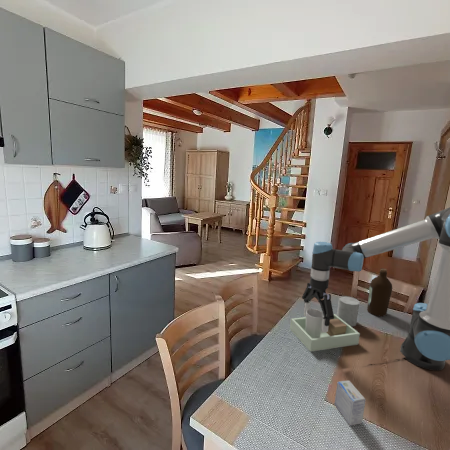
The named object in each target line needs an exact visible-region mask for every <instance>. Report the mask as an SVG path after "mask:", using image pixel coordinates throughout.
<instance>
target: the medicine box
mask: <svg viewBox="0 0 450 450" xmlns="http://www.w3.org/2000/svg"><path fill="white" fill-rule="evenodd" d="M336 383H337V384H336V390H335V397H334V403H333V404H334V406H335V407H336V408H337V410H338V411H339V413H340V414H341V415H342V418H344V420H345V421H346V422H347V424H348V425H349V426H355V425H360V424H363V421H364V420H363V418H364V415H365V405H366V401H367V400H366V398H365V397H364V395H362V394H361V393H360V391H359V390H358V389H357V388H356V387H355V386H354V384H353V383H352V382H351V380H341V381H337V382H336Z"/></svg>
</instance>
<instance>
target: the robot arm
mask: <svg viewBox="0 0 450 450" xmlns="http://www.w3.org/2000/svg"><path fill="white" fill-rule="evenodd" d="M431 239H436V240H437V239H438V245H439V246H440V247H441V248H442V250H441V253H440V255H439V256H440V257H439V260H438V264H437V268H436V271H435V275H434V279H433V282H432V286H431V290H430V294H429V297H428V301H427V303H423V302H417V303H415V304H414V305H413V308H412V316H411V321H410V326H409V330H408V334H407V337H406V338H405V339H404V340H403V342H402V344H401V346H400V351H399V352H400V353H401V354H402V355H403V356H404V359H405V360H406V361H408V362H410V363H411V364H413V365H414V366H416V367H417V366H418V367H419V368H422V369H425V370H430V371H441V370H443V369H444V368H445V365H446V361H450V207H448V208H445V209H442V210H440V211H437V212H435V213H433V214H429V215H426V217H425V218H424V219H423V220H419V221H416V222H414V223H411V224H408V225H404V226H402V227H399V228H395V229H391V230H390V231H387V232H383V233H381V234H378V235H374V236H372V237H368V238H365V239H362V240H359V241H356V242H350V243H347V244H345V246H343V247H342V249H335V248H333V245H332V243H330V242H328V241H316V242H314V244H313V247H312V255H311V256H312V257H311V259H312V260H311V267H310V279H309V282H307V284H306V287H305V290H304V292H303V294H302V296H301V299H302V300H303V302H304V304H303V305H304V306H303V307H304V309H303V317H306V310H308V309H311V306H312V302H311V301H312V300H313V299H314V298H315V299H316V300H317V302H318V303H319V304H320V308H321V311H322V312H323V315H324V317H323V320H322V330H321V332H322V333H323V332H328V327H329V323H330V319H334V314H335V313H334V311H333V304H332V295H331V294H330V293H327V292H326V291H327V289H328V288H329V281H330V272H331V271H330V270H331V268H335V269H341V270H344V271H345V270H347V271H350V272H362V271H363V265H364V259H367V258H370V257H372V256H376V255H380V254H383V253H386V252H390V251H393V250H397V249H401V248H403V247H407V246H410V245H414V244H417V243H420V242H425V241H427V240H431ZM326 315H327V316H326Z"/></svg>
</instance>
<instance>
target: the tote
mask: <svg viewBox="0 0 450 450" xmlns="http://www.w3.org/2000/svg"><path fill="white" fill-rule="evenodd" d="M333 314H334V319H339V320H340V321H341V322H343V323H344V324H345V325H346V326H347V327H346V333H345V334H342V335H335V336H330V335H328V334H327V333H326V332H323V333H322V332H321V335H320V338H313V339H312V338H311V337H310V336H309V335H308V334H307V333H306V316H303V317H294V318H290V325H289V330H290V331H291V332H292V333H293V334H294V335H295V336H296V338H297V339H298V340H299V341H300V342H301V343H302V344H303V346H305V348H306V349H307V350H308V351H309V352H312V353H313V352H316V351H317V352H319V351H324V350H330V349H331V350H332V349H338V348H342V347H350V346H357V345H359V342H360V341H359V340H360V335H361V333H360V332H358V330H357V329H355V328H353V326H352V327H351V326H350V325H348V324H347V323H346V322H344V321H343V320H342V319H341V318H339V317H338V316H337V314H336V313H333ZM326 316H327V315H326ZM330 320H331V319H330Z"/></svg>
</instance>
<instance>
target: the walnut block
mask: <svg viewBox="0 0 450 450" xmlns="http://www.w3.org/2000/svg"><path fill="white" fill-rule="evenodd" d="M346 327H347V326H346V325H345V324H344V323H343V322H341V321H340V320H339V319H331V320H330V323H329V327H328V332H326V333H327V334H328V335H330V336H335V335H342V334H345V333H346Z"/></svg>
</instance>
